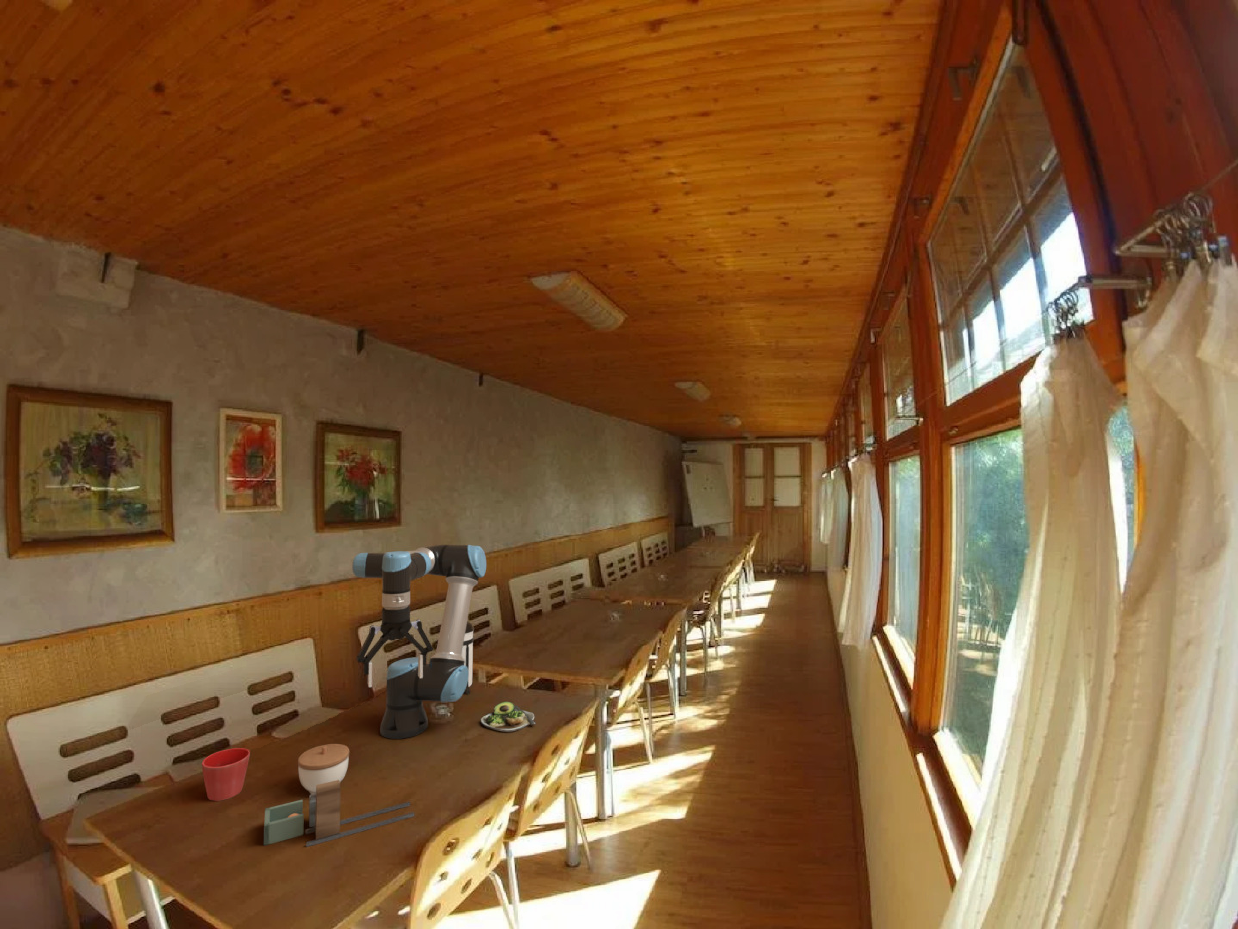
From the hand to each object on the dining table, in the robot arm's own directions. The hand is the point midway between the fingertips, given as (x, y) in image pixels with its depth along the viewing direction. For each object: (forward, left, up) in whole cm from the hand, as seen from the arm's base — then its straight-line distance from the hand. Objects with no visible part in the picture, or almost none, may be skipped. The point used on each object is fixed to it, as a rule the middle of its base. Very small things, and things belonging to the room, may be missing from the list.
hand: (395, 681), depth 161 cm
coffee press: (-59, +34, -28) cm, 73 cm away
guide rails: (+18, -10, -28) cm, 35 cm away
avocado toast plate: (-22, +41, -28) cm, 55 cm away
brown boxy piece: (+15, -18, -27) cm, 36 cm away
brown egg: (+12, -27, -26) cm, 39 cm away
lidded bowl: (-6, -17, -28) cm, 33 cm away
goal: (+11, -27, -28) cm, 40 cm away
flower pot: (-16, -40, -28) cm, 52 cm away
